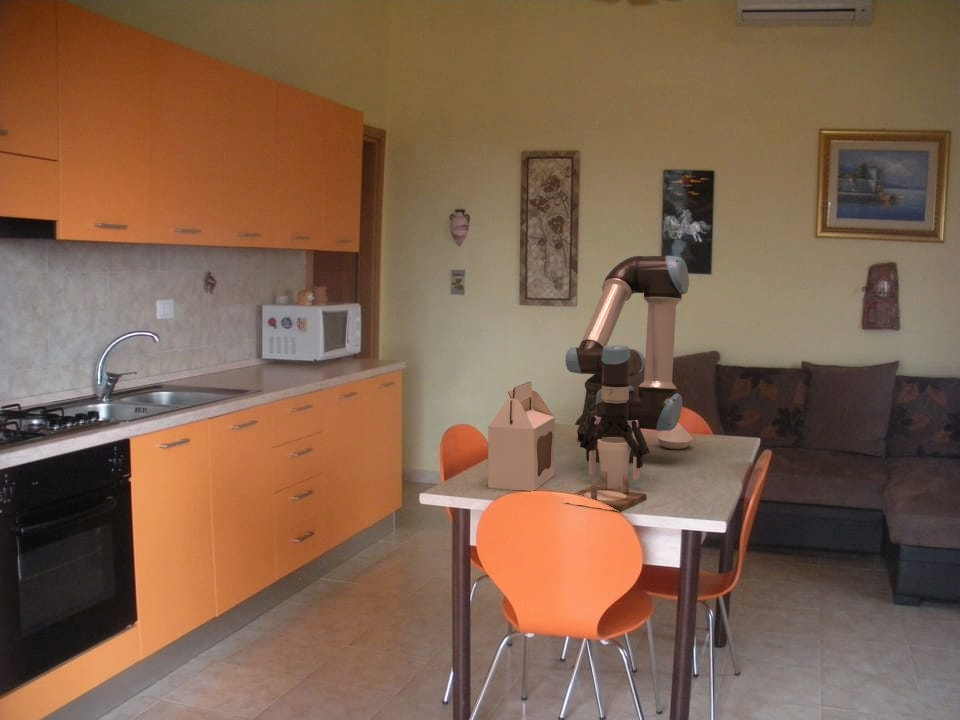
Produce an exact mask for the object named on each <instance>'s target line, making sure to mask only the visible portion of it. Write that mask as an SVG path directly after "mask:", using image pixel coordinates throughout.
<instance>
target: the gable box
mask: <svg viewBox="0 0 960 720" xmlns="http://www.w3.org/2000/svg"><path fill="white" fill-rule="evenodd" d="M507 393H508V395H509V398H508V399H507V400H506V401H505V402H504V403H503V405H502V406H501V408H500V409H499V410H498V412H497V414H496V415H495V416H494V418H493V419H492V421H491V423H490V424H489V425H488V426H487V427H488V430H487V442H488V443H487V488H488V489H494V490H495V489H496V490H506V491H507V490H508V491H518V490H535V491H536V490H537V489H539V488H540V487H541V486H542V485H544V484H545V483H546V482H548V481H549V480H551V478H553V477H554V476H555V441H556V440H555V435H556V434H555V429H556V428H555V424H556V423H555V419H556V416H554V415H553V414H552V411H551V410H550V409H549V408H548V406H547V405H546V403H545V401H544V400H543V398H542V397H541V395H540V394H539V393H538V392H537V391H535V390H533V384H532V381H527V382H525V383H522V384H520V385H517V386H515V387H513V389H511V390H509V391H507Z"/></svg>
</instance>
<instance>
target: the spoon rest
mask: <svg viewBox="0 0 960 720" xmlns="http://www.w3.org/2000/svg"><path fill="white" fill-rule="evenodd" d="M656 440H657V441H658V443H659V444H660V445H661V446H662V447H664V448H665V449H668V450H683V449H685V448H687V447H688V446H690V444H691V443H692V441H693V437H692V435H691V434H689V432H688V431H687V430H685V428H684V427H683V426H682V424H680V422H678V423H677V425H676V427H675V428H674V429H672V430H670V431H663V430H661V431H659V433H658V434H657V436H656Z"/></svg>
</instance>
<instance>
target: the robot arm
mask: <svg viewBox="0 0 960 720" xmlns="http://www.w3.org/2000/svg"><path fill="white" fill-rule="evenodd" d="M689 276H690V275H689V270H688V266H687V264H686V262H685V260H684V259H683V258H682V257H680V256H675V255H646V256H645V255H633V256H630V257H628V258H626V259H624V260H622V261H620V262H619V263H618V264H617V265H616V266H614V267H613V268H612V269H611V270H610V272H609V273H608V274H607V275H606V276H605V279H604V281H603V283H602V286H601V292H602V294H601V295H600V298H599V300H598V302H597V304H596V308H595V309H594V312H593V314H592V316H591V319H590V321H589V324H588V326H587V328H586V330H585V332H584V334H583V337H582V339H581V342H580V344H579V346H578V347H577V346H575V347H570V348H569V349H567V352H566V354H565V366H566V369H567V371H568V372H570V373H573V374H581V375H583V374H584V375H594V374H601V375H602V389H600V390H599V391H598V392H597V397H596V403H595V404H596V416H593V417H591V422H590V426H589V428H588V430H587V432H586V434H585V436H584V438H583V440H582V442H580V444H579V446H580V448H581V449H585V450H586V456H585V457H586V462H588V474H589V475H594V474H595V473H596V471H597V468H596V467H597V465H596V464H597V463H596V462H598V463H600V461H599V452H598V449H597V444H598V439H601V438H606V437H618V438H624V439H625V440H626V442H627V443H628V445H629V446H630V448H631V450H630V456H629V463H633V464H632V481H638V480H640V478H641V477H640V475H641V468H643V466H644V461H643V460H644V456H647V455H649V454H650V448H649V446H648V444H647V441H646V439H645V436H644V434H643V432H642V430H649V431H650V430H652V431H658V432H661V431H662V430H663V431H670V430H672V429H674V428H675V427H676V425H677V423H679V421H680V418H681V415H682V409H683V397H682V395H681V394H679V393H677V390H678V389H677V386H676V385H675V384H674V383H673V371H674V370H673V367H674V353H675V351H674V350H675V337H676V336H675V332H676V316H677V315H676V314H677V305H678V304H679V303H680V302H682V299H683V297H682V296H683V295H686V294H687V293H688V291H689V285H690V277H689ZM633 294H643V300H644V301H645V302H646V303H647V321H646V324H647V325H646V338H645V339H646V340H645V357H644V355H643V353H642V352H641V351H640V350H637V349H636V348H635V349H634V348H630V346H628V345H623V344H610V345H609V341H610V339H611V336H612V334H613V331H614V329H615V327H616V324H617V322H618V320H619V317H620V315H621V313H622V310H623V308H624V306H625V304H626V302H627V301H629V300H630V299H631V297H632V295H633ZM643 370H644V376H643V381H642V383H639V385H638V391H637V390H636V391H635V388H634V386H632V385H630V377H634V376H636V375H638V374H640V373H642V371H643ZM641 429H642V430H641ZM595 430H596V435H595V437H594V439H593V440H592V441H591V442H590V440H591V438H592V436H593V434H594V432H595ZM634 437H635V439H634ZM589 442H590V443H589Z"/></svg>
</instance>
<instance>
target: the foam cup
mask: <svg viewBox="0 0 960 720" xmlns="http://www.w3.org/2000/svg"><path fill="white" fill-rule="evenodd" d="M597 449H598V452H599V461H600V462H599V468H600V469H599V470H600V472H601V471H607V488H610V489H611V488H612V489H617V490H621V489H623V474H628V468H629V463H630V462H629V456H630V450H631V448H630V446H629V445H628V443H627V442H626V440H625V439H624V438H618V437H606V438H601V439H598V444H597Z"/></svg>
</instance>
